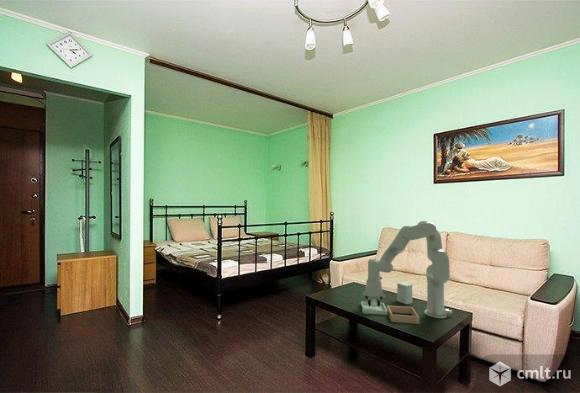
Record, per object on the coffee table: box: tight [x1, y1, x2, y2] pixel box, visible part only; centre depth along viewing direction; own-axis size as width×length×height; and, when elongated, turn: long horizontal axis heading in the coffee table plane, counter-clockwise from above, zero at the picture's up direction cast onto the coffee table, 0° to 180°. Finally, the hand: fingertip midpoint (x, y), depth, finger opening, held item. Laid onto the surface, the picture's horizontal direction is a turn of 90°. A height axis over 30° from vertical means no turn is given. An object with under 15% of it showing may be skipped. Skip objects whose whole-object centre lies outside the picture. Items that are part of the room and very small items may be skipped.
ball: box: [370, 298, 378, 307], centre depth 183 cm, size 5×5×5 cm
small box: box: [396, 281, 413, 305], centre depth 198 cm, size 8×6×13 cm
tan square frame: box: [386, 305, 420, 325], centre depth 171 cm, size 16×16×4 cm
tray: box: [360, 300, 389, 316], centre depth 183 cm, size 15×15×2 cm
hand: (373, 306), depth 183 cm, fingers closed on ball, 4 cm apart
